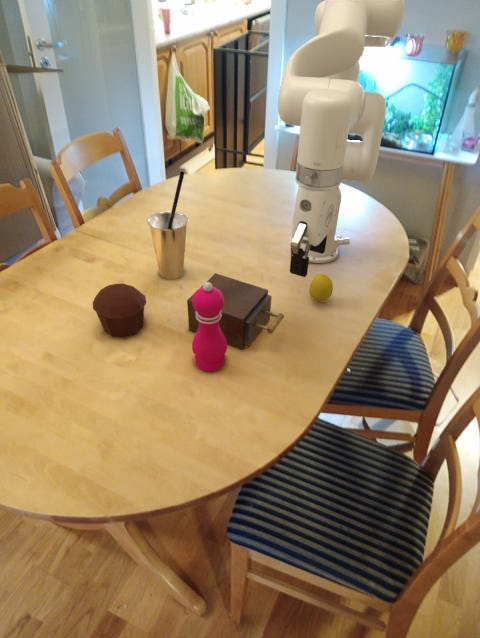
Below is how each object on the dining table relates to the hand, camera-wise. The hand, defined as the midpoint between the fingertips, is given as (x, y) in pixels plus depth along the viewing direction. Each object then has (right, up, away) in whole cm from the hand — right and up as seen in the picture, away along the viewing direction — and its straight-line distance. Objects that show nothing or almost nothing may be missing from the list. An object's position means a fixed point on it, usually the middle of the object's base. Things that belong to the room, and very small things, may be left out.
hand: (307, 262), depth 89 cm
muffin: (-39, -12, +19) cm, 46 cm away
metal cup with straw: (-30, +1, +36) cm, 47 cm away
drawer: (-12, -13, +18) cm, 25 cm away
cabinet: (-15, -12, +20) cm, 28 cm away
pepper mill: (-19, -20, +11) cm, 29 cm away
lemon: (+7, -7, +28) cm, 29 cm away
